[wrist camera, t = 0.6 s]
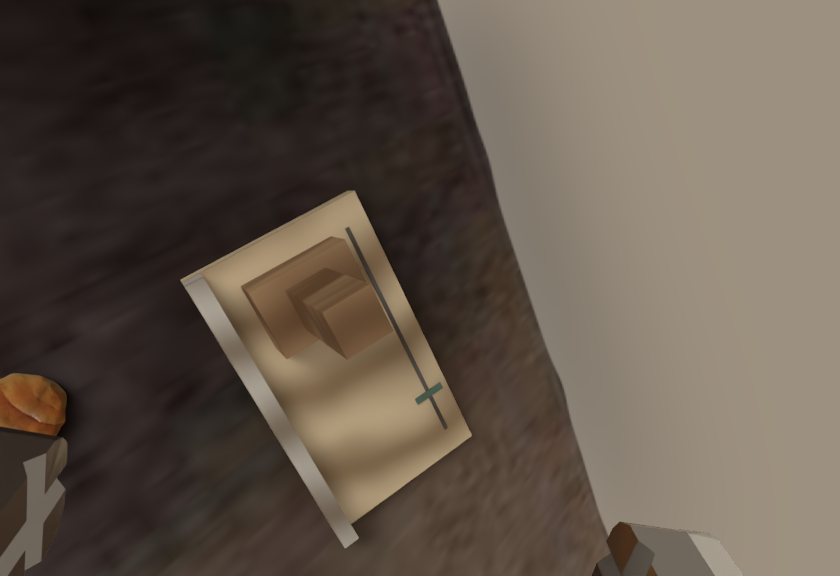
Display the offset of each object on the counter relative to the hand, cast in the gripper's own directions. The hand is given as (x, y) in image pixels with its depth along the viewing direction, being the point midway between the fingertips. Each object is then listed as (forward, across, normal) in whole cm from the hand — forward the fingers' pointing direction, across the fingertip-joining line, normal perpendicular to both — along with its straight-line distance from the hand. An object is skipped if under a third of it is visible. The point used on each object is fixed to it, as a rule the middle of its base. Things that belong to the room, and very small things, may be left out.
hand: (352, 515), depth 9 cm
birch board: (+34, -2, +16) cm, 38 cm away
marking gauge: (+33, +2, +10) cm, 35 cm away
